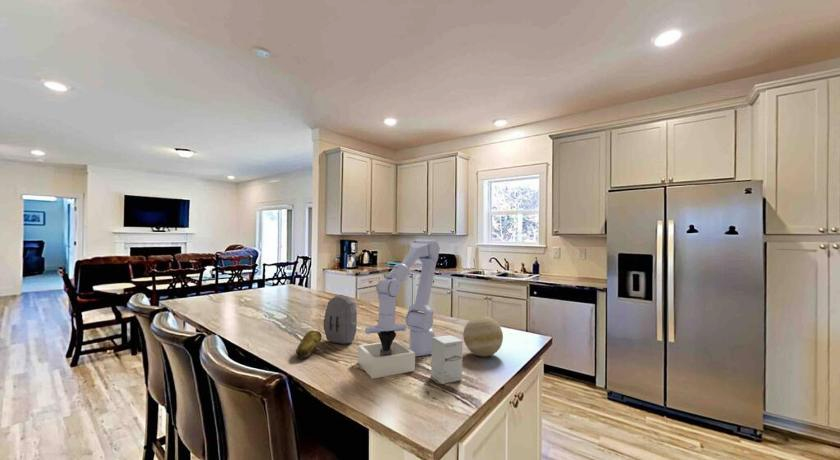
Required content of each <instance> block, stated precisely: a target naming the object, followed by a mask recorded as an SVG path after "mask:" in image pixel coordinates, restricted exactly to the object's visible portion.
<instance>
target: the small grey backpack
mask: <svg viewBox="0 0 840 460" xmlns="http://www.w3.org/2000/svg"><path fill="white" fill-rule="evenodd" d="M357 314H358V311H357V305H356V302H355V301H354V300H353V298H352V297H350V296H348V295H344V294H337V295H334V296H333V297H332V298H331V299H329V301H328V302H327V305H326V309H325V313H324V319H323V330H324V334H325V337H326V340H327V341H328V342H331V343H335V344H343V345H344V344H345V345H346V344H352V343H353V342H354V339H355V336H356V334H357V325H358V324H357V323H358V319H357V316H358V315H357Z"/></svg>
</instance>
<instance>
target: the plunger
mask: <svg viewBox="0 0 840 460" xmlns="http://www.w3.org/2000/svg"><path fill="white" fill-rule="evenodd" d="M389 355H392V349H391V348H390V350H389V351H384V350H383V349H380V356H381V357H383V356H389Z"/></svg>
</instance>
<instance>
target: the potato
mask: <svg viewBox="0 0 840 460" xmlns="http://www.w3.org/2000/svg"><path fill="white" fill-rule="evenodd" d="M321 340H322V333H321V332H320V331H318V330H310V331H308V332H306V333H305V335H304V336H303V338H302V339H301V341H300V342H299V345H297V348H296V350H295V354H296V356H297V358H299V359H301V360H303V359H306V358H307V357H308V356H310V354H312V353H313V352H314V351H315V350H316V349H317V348H318V346H319V345H320V343H321Z"/></svg>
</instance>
